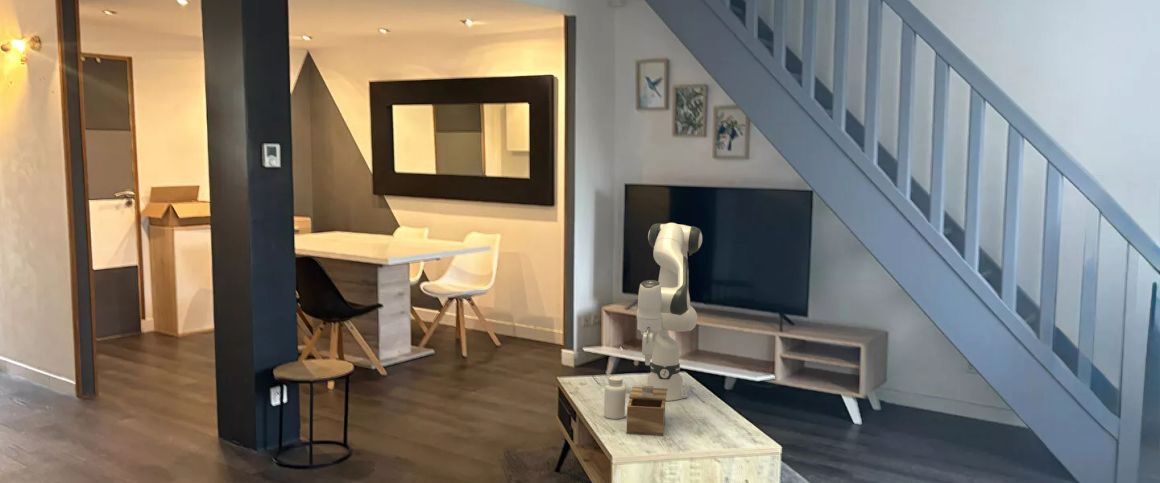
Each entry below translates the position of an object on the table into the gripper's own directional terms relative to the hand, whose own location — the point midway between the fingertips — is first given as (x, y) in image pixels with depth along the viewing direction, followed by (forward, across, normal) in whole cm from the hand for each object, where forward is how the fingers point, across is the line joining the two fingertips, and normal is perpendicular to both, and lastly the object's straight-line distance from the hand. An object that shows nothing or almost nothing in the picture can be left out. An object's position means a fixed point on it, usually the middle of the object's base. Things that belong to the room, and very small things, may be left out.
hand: (648, 361), depth 337 cm
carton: (+24, -5, 0) cm, 24 cm away
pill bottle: (+24, +8, +13) cm, 28 cm away
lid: (+14, +5, 0) cm, 15 cm away
